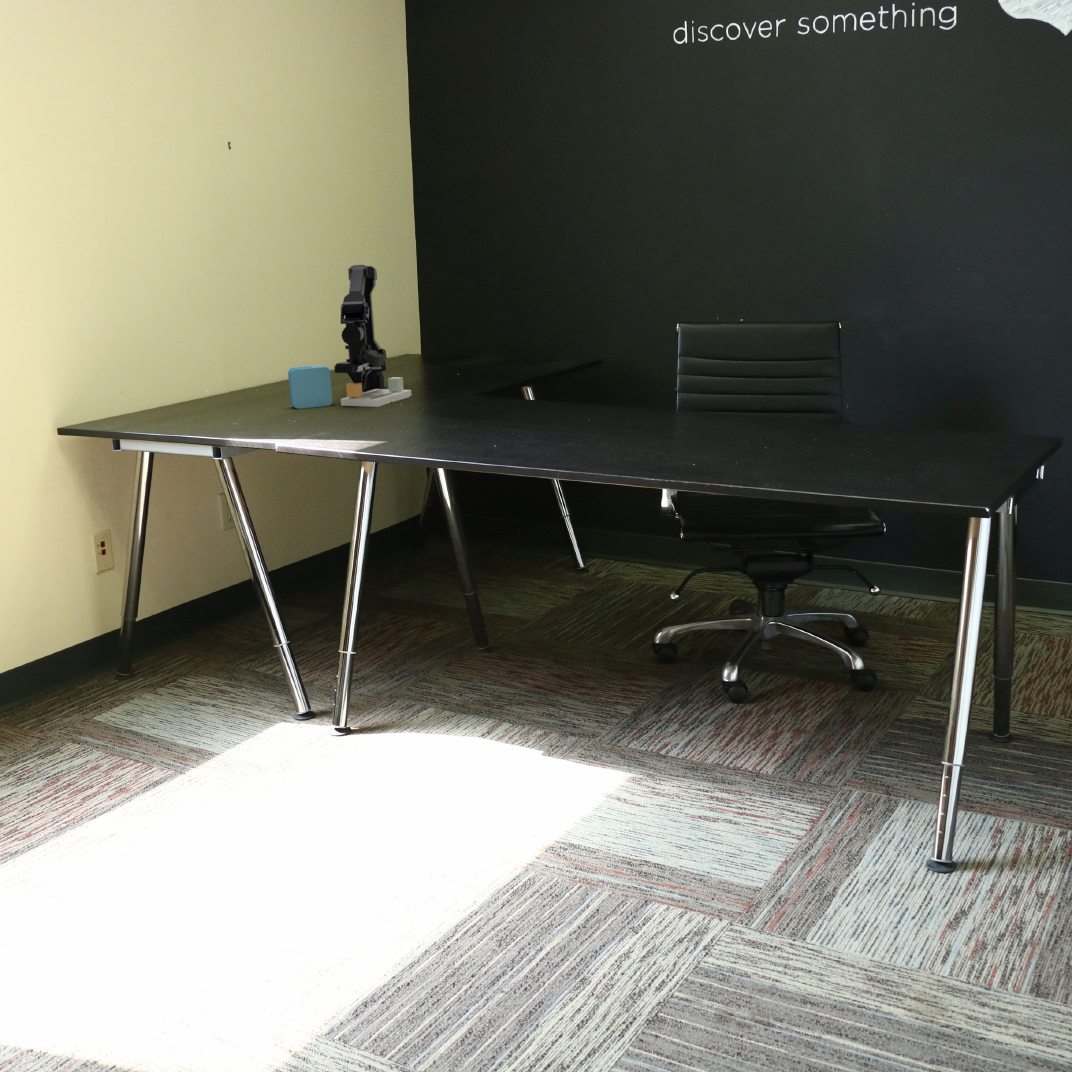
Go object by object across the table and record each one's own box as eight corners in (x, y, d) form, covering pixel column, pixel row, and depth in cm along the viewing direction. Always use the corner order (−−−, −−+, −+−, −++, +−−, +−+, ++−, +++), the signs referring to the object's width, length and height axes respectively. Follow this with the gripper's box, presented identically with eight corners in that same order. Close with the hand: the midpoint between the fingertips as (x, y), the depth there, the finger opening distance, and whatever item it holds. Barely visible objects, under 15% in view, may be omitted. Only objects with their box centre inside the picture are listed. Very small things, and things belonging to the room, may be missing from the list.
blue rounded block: (330, 403, 361) (326, 364, 358) (333, 405, 357) (329, 366, 354) (291, 407, 357) (287, 367, 354) (293, 409, 353) (289, 369, 350)
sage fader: (388, 391, 365) (387, 378, 364) (393, 389, 368) (392, 377, 367) (398, 391, 364) (397, 378, 362) (403, 390, 366) (402, 377, 365)
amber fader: (347, 397, 357) (346, 384, 356) (352, 395, 359) (351, 382, 358) (357, 397, 355) (356, 384, 354) (362, 395, 358) (361, 382, 357)
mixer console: (341, 405, 356) (340, 398, 356) (376, 395, 374) (375, 388, 373) (377, 406, 351) (377, 399, 350) (411, 396, 368) (411, 389, 368)
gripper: (362, 345, 345) (367, 398, 349) (395, 338, 361) (399, 388, 365) (331, 345, 349) (335, 397, 353) (365, 338, 366) (369, 388, 370)
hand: (361, 392), depth 360 cm, fingers closed
